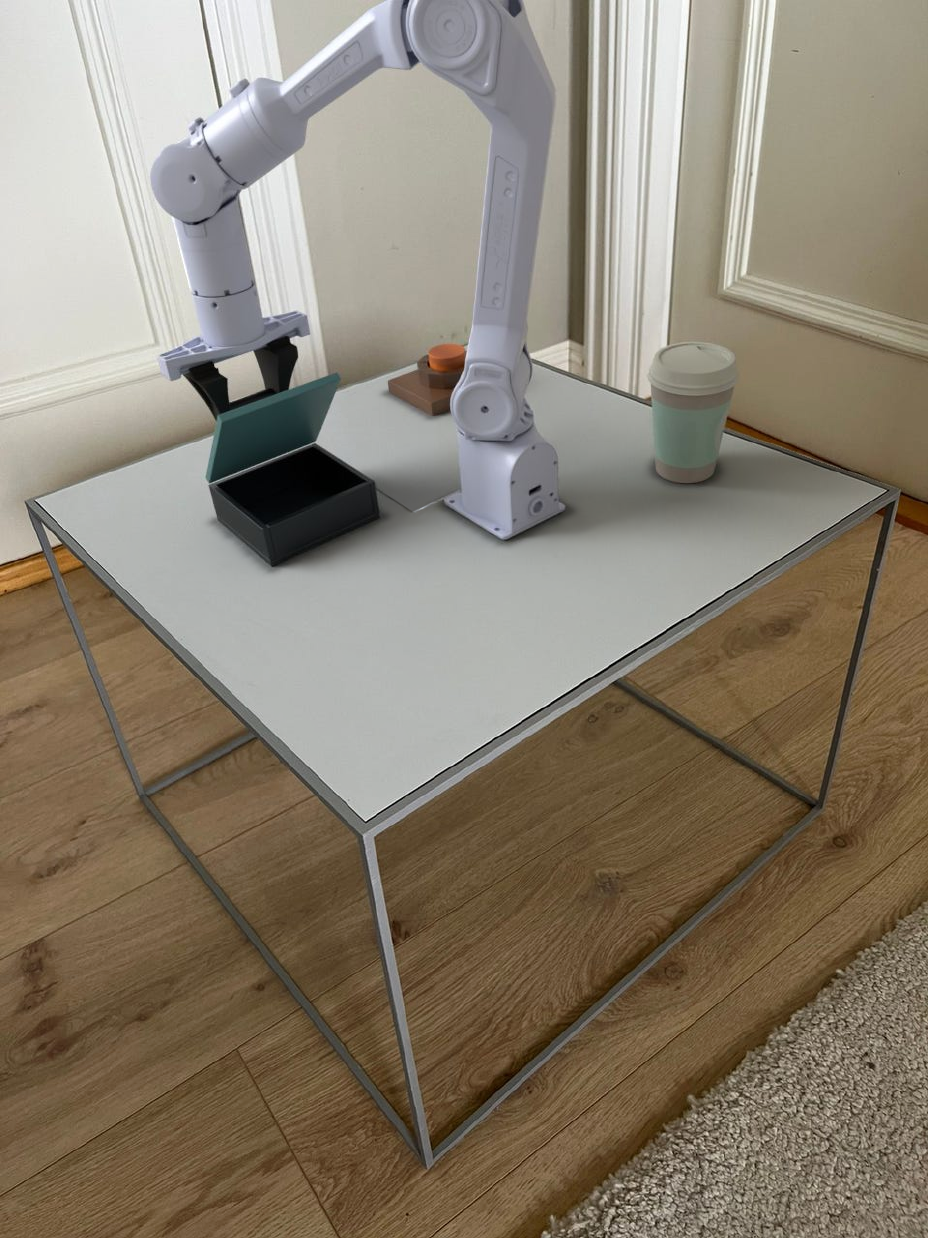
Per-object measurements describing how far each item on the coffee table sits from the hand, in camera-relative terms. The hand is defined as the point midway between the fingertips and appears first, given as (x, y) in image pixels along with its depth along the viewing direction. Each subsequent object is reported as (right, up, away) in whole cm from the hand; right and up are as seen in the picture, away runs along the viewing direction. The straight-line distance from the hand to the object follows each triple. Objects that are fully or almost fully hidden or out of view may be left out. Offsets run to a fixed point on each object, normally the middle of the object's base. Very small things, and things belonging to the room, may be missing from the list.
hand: (255, 425), depth 92 cm
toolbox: (+2, -1, -3) cm, 4 cm away
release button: (+19, +12, +21) cm, 30 cm away
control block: (+19, +9, +23) cm, 31 cm away
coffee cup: (+43, -4, +4) cm, 43 cm away
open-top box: (+4, -9, +1) cm, 10 cm away
